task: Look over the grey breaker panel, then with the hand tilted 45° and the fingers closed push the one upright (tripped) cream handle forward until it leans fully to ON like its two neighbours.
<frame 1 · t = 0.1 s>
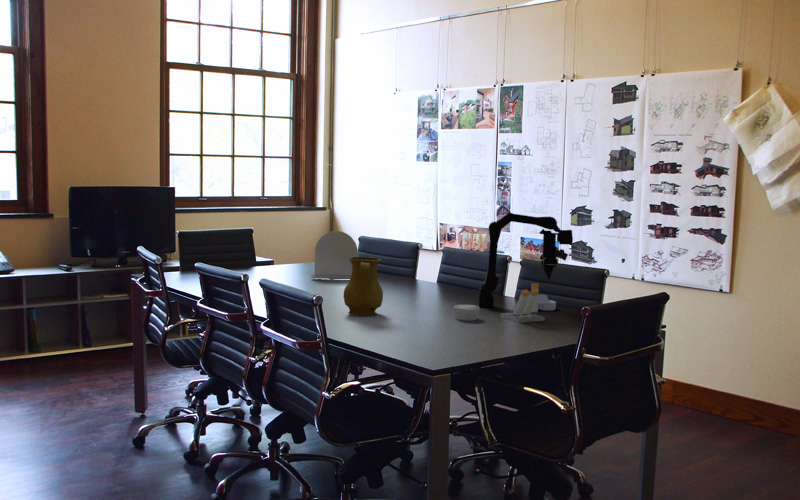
hand: (547, 277, 349), 15 cm above the table, tool pointing down, fingers open, 9 cm apart
breaker panel: (522, 318, 325), on the table
breaker 3 tripped: (534, 299, 324), point 9 cm above the table, hinge at 0.0°
wedge on round base: (541, 309, 350), on the table
award: (335, 279, 430), on the table
breaker 1: (520, 303, 317), point 8 cm above the table, hinge at 30.0°
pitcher: (362, 314, 327), on the table
breaker 2: (529, 303, 319), point 8 cm above the table, hinge at 30.0°
ramekin: (466, 319, 323), on the table
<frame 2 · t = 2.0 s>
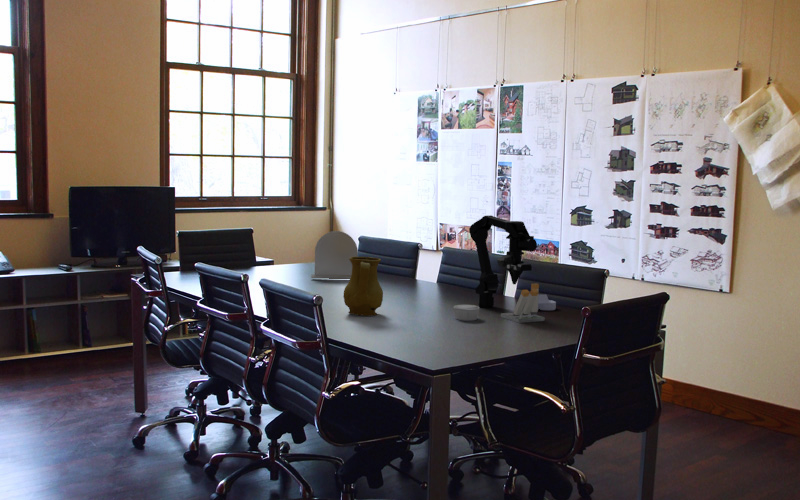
hand: (514, 284, 336), 13 cm above the table, tool pointing down, fingers closed
nothing on the table moved.
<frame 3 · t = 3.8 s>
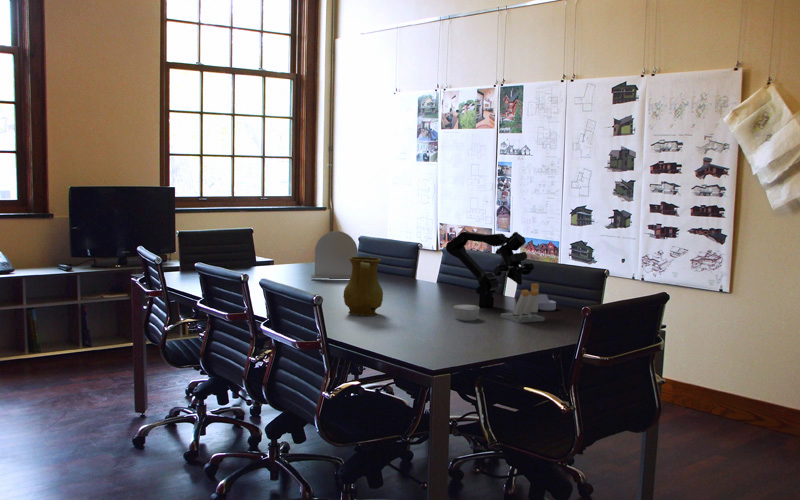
hand: (520, 284, 333), 13 cm above the table, tool tilted 45°, fingers closed
nothing on the table moved.
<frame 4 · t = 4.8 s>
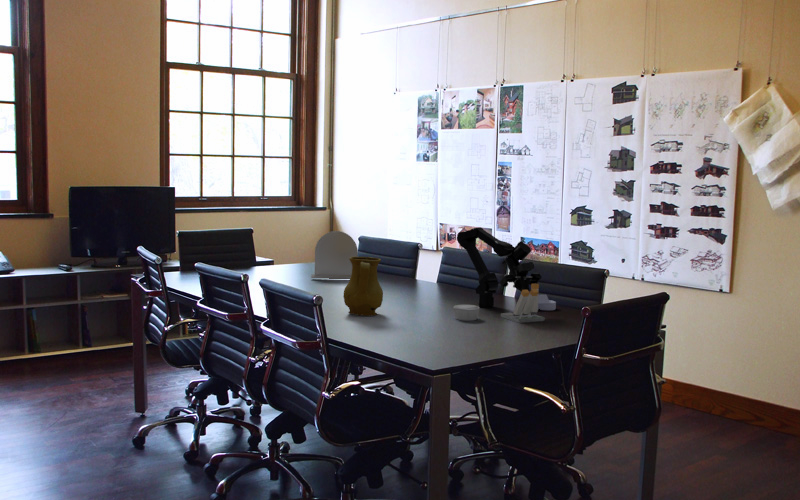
hand: (528, 295, 328), 10 cm above the table, tool tilted 45°, fingers closed
nothing on the table moved.
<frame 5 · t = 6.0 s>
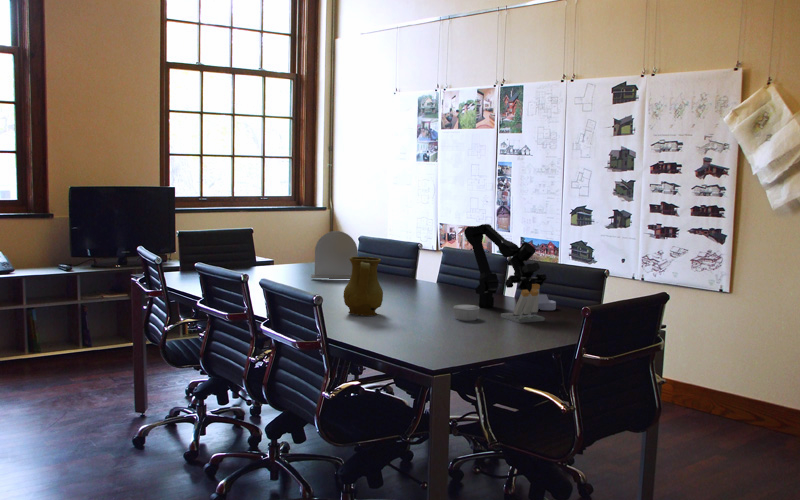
hand: (533, 296, 325), 10 cm above the table, tool tilted 45°, fingers closed, pressing on breaker 3 tripped
breaker 3 tripped: (534, 299, 324), point 9 cm above the table, hinge at 3.0°, touching gripper
everything else where it was.
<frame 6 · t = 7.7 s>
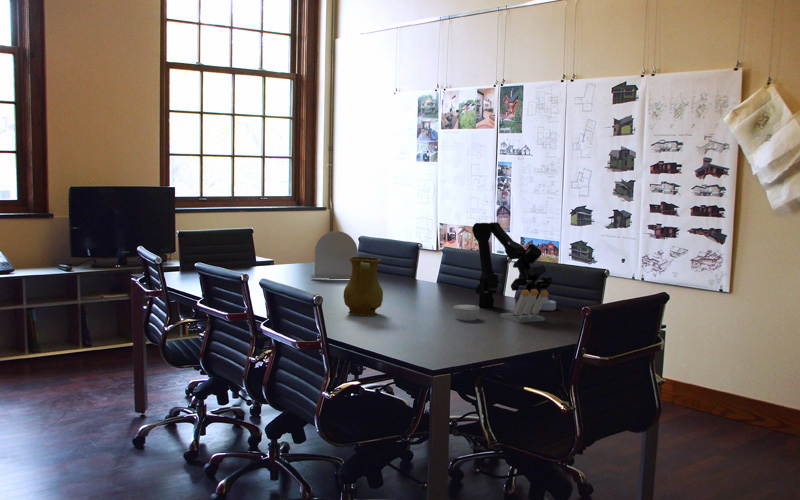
hand: (539, 299, 321), 9 cm above the table, tool tilted 45°, fingers closed, pressing on breaker 3 tripped
breaker 3 tripped: (539, 303, 321), point 7 cm above the table, hinge at 35.2°, touching gripper
everything else where it was.
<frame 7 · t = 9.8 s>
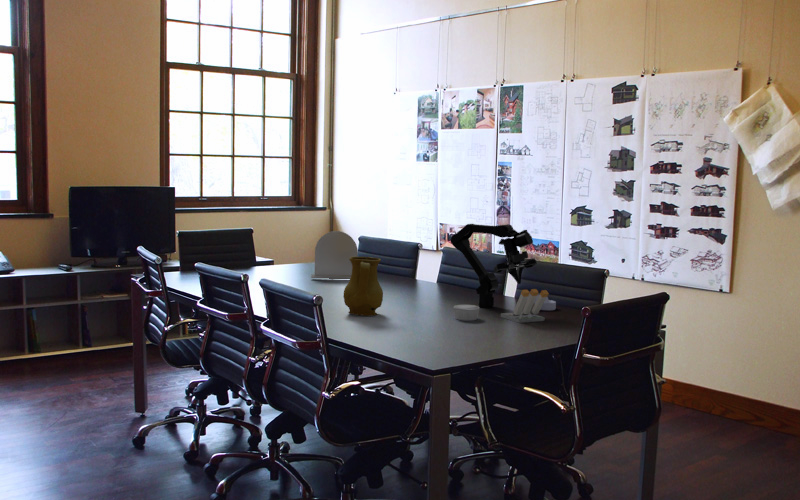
hand: (519, 283, 338), 13 cm above the table, tool tilted 25°, fingers closed
breaker 3 tripped: (539, 303, 321), point 7 cm above the table, hinge at 35.2°
everything else where it was.
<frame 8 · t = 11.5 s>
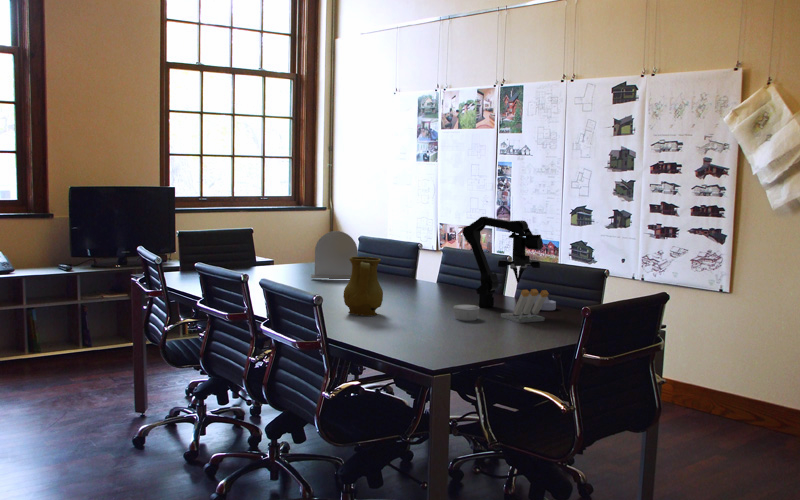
hand: (517, 282, 342), 13 cm above the table, tool pointing down, fingers closed
nothing on the table moved.
at the end: breaker 3 tripped at +35° (first picture: +0°); breaker 2 at +30° (first picture: +30°) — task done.
